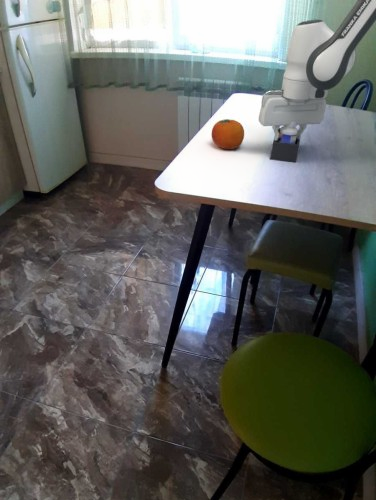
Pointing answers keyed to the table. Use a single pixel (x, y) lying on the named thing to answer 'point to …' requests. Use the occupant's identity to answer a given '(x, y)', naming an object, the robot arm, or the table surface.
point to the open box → (284, 151)
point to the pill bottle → (288, 133)
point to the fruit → (228, 134)
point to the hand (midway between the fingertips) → (287, 139)
